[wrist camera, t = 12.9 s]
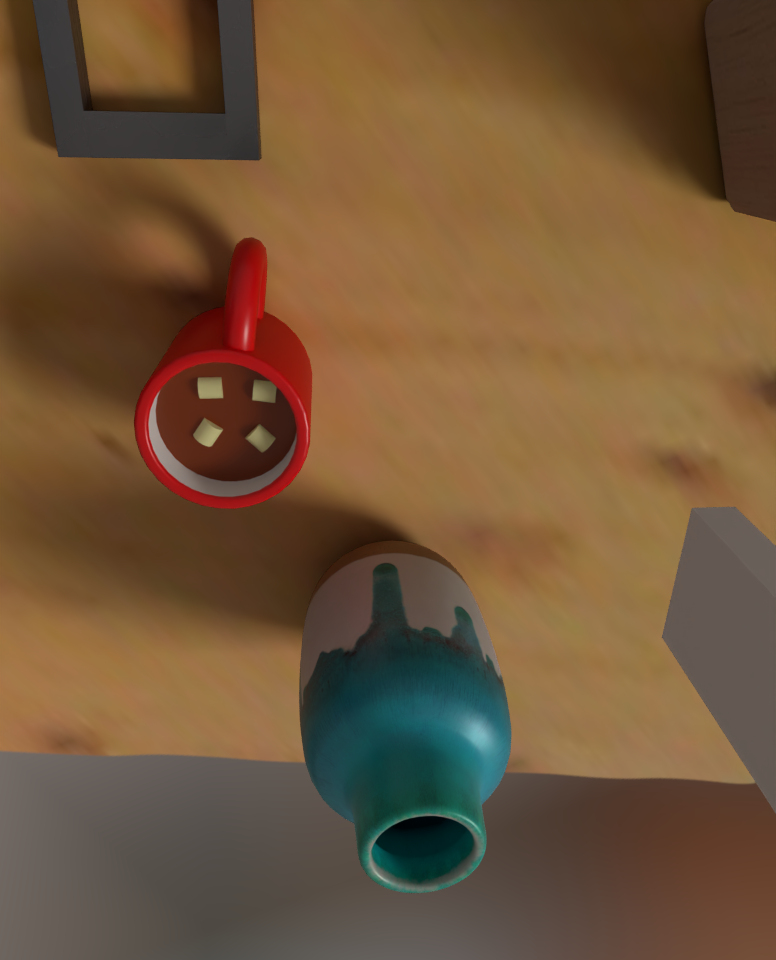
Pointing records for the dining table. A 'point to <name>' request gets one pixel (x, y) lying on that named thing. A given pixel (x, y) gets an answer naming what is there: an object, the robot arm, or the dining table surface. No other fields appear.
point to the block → (745, 100)
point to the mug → (229, 398)
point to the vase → (403, 712)
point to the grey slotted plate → (150, 130)
